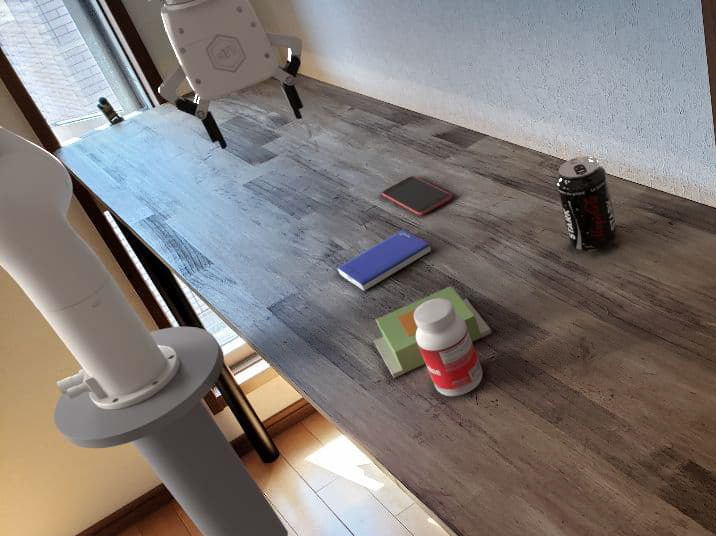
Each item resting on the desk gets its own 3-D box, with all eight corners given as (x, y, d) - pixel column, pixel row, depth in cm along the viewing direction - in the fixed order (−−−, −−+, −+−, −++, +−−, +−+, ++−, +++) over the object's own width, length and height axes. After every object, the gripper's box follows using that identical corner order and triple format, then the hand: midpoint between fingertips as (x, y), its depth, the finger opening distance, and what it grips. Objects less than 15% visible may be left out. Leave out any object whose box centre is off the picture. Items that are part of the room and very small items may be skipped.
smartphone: (419, 214, 138) (379, 192, 147) (420, 217, 138) (380, 195, 148) (453, 194, 140) (412, 174, 150) (454, 197, 141) (413, 177, 150)
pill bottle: (431, 376, 106) (402, 306, 99) (476, 358, 106) (451, 287, 99) (442, 405, 101) (413, 333, 94) (489, 386, 102) (464, 313, 95)
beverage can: (578, 261, 118) (560, 184, 110) (566, 239, 123) (548, 164, 115) (624, 246, 118) (610, 168, 110) (610, 224, 123) (595, 149, 115)
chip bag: (394, 378, 107) (384, 356, 105) (375, 344, 114) (365, 323, 112) (491, 333, 110) (484, 310, 107) (467, 302, 116) (460, 280, 114)
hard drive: (401, 228, 134) (336, 266, 129) (428, 242, 128) (361, 283, 124) (405, 236, 135) (340, 274, 130) (431, 251, 129) (365, 291, 125)
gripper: (117, 17, 88) (196, 167, 99) (273, -38, 91) (333, 113, 102) (114, 4, 93) (190, 147, 104) (261, -48, 96) (319, 96, 107)
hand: (260, 130), depth 103 cm, fingers open, 9 cm apart
